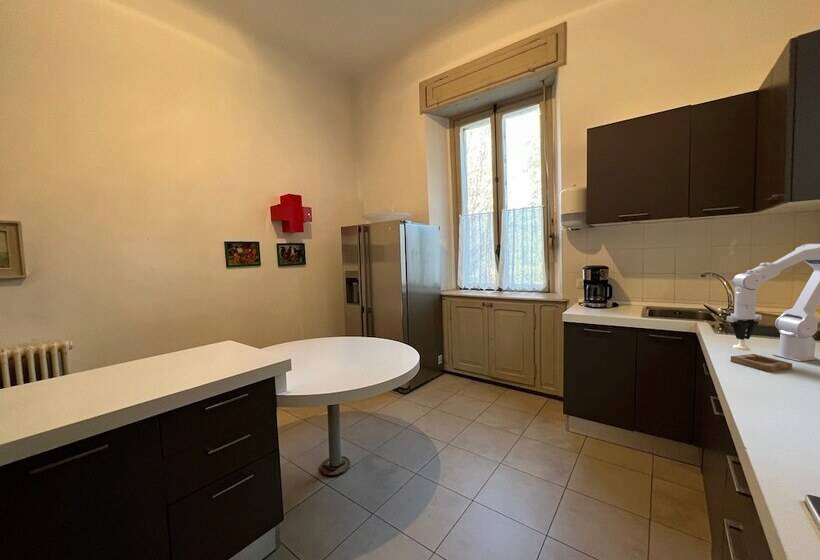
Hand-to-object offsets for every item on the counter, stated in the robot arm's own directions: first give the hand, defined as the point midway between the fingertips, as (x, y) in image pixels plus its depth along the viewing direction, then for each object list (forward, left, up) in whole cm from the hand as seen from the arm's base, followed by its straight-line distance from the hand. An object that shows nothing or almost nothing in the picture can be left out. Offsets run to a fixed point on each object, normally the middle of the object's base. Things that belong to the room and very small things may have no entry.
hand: (742, 338), depth 126 cm
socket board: (+5, +9, -7) cm, 12 cm away
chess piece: (0, 0, -4) cm, 4 cm away
